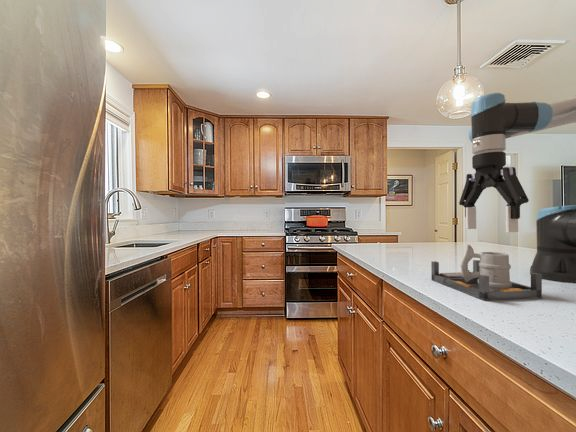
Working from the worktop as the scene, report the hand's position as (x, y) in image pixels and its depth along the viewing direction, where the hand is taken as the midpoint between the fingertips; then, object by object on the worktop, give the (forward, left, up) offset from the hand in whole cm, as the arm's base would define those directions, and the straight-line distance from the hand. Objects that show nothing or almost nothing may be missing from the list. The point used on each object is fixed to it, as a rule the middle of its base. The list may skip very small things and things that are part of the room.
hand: (489, 230), depth 77 cm
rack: (0, -3, -17) cm, 17 cm away
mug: (0, -1, -17) cm, 17 cm away
